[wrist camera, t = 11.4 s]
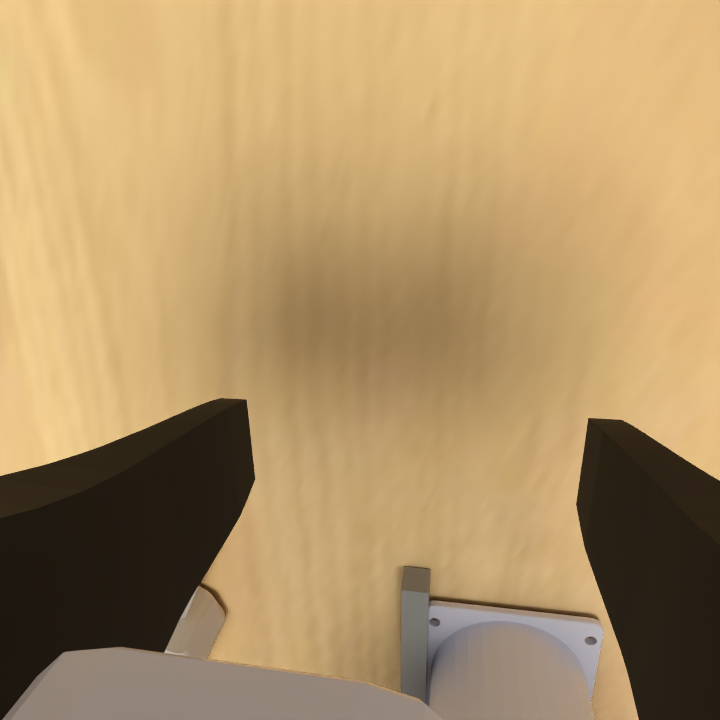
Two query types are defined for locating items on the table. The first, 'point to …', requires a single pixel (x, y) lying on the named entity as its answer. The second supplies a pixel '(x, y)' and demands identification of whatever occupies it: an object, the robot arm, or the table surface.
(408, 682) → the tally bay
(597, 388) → the table surface
